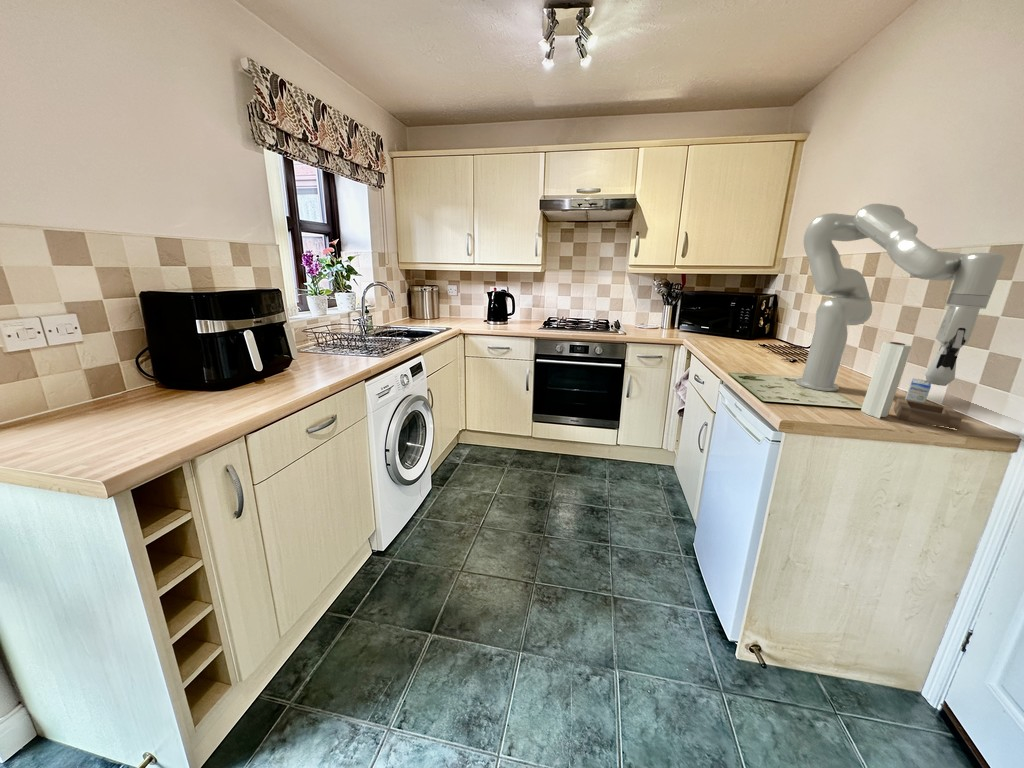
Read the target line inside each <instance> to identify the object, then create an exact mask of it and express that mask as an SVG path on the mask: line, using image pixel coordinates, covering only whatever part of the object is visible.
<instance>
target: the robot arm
mask: <svg viewBox="0 0 1024 768" xmlns="http://www.w3.org/2000/svg"><path fill="white" fill-rule="evenodd" d="M918 230H919V229H918V225H916V224H914V223H913V222H911V221H909V220H908V219H907V218H906V216H905V212H904V211H903V209H902V208H900V207H899V206H897V205H896V206H895V205H891V204H886V203H885V204H883V203H869V204H867V205H865V206H862V207H861V208H860V209H859V210H857V212H856V213H855V214H854V215H853V214H846V213H845V214H843V213H836V212H834V213H833V212H832V213H829V212H828V213H823V214H821V215H818V216H817V217H815V218H814V219H813V220H812V221H811V222H810V223H809V224H808V225H807V227H806V230H805V232H804V235H803V247H804V252H805V254H806V257H807V259H808V260H807V261H808V263H809V269H810V273H811V277H812V280H813V285H814V289H815V291H816V292H817V293H818V294H819V295H822V296H825V297H826V296H828V297H829V296H830V297H831V298H827V299H825V300H824V301H822V302H821V303H820V304H819V305H818V307H817V309H816V312H815V323H814V324H815V326H814V331H813V335H812V340H811V344H810V346H809V347H810V348H809V351H808V354H807V357H806V361H805V366H804V369H803V372H802V376H801V377H799V378H797V379H795V383H796V384H797V385H799V386H801V387H803V388H807V389H812V390H817V391H824V392H836V391H838V390H839V387H840V386H838V385H837V384H835V381H836V379H837V375H838V373H839V372H838V371H839V368H840V365H841V362H842V359H843V355H844V352H845V348H846V345H847V341H848V326H860V325H863V324H865V323H866V322H867V321H868V320H870V317H871V316H872V313H873V305H872V300H871V296H870V293H869V289H868V285H867V282H866V279H865V277H864V275H863V274H862V273H861V272H860V271H859V270H857V269H854V268H847V267H844V266H843V264H842V260H841V257H840V253H839V251H838V250H837V247H835V245H834V244H833V241H836V242H853V241H859V240H864V239H865V240H866V239H869V240H871V241H873V242H875V243H876V244H877V245H878V246H880V247H882V248H883V249H884V250H886V253H887V255H888V256H889V258H890V260H891V261H892V262H894V264H896V266H898V267H899V268H901V269H903V270H904V271H905V272H906V273H908V274H909V275H911V276H912V277H914V278H917V279H920V280H925V281H926V280H927V281H928V280H929V281H943V282H944V281H947V282H948V281H953V283H952V286H951V288H950V291H949V294H948V297H947V299H946V303H945V306H946V307H948V308H947V310H946V312H945V314H944V316H943V319H942V321H941V323H940V327H939V329H938V331H937V333H936V336H935V340H936V341H938V342H939V343H940V342H941V343H945V341H946V345H945V348H944V351H943V354H941V355H940V357H939V360H938V363H937V366H936V368H937V369H938V368H939V367H940V366H943V367H950V369H951V370H953V367H954V365H955V362H956V363H957V358H958V356H959V352H960V350H961V348H962V347H961V345H963V346H965V345H967V344H968V343H969V341H970V339H971V337H972V333H973V331H974V327H975V326H976V322H977V319H978V317H979V314H980V310H983V309H986V308H987V306H988V305H989V301H990V299H991V296H992V295H993V291H994V289H995V286H996V283H997V281H998V278H999V275H1000V273H1001V270H1002V268H1003V265H1004V263H1005V255H1003V254H1002V253H997V252H970V253H959V252H949V251H942V250H941V251H939V250H936V249H934V248H932V247H931V246H929V245H927V244H926V243H924V242H923V241H922V240H920V239H919V238H918V237H917V236H916V235H917V234H918ZM950 341H953V342H954V343H953V344H949V342H950ZM962 343H963V344H962ZM949 346H950V347H949ZM960 347H961V348H960ZM941 348H942V346H941V345H940V347H939V349H938V352H939V351H940V349H941Z"/></svg>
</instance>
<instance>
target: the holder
mask: <svg viewBox="0 0 1024 768" xmlns="http://www.w3.org/2000/svg"><path fill="white" fill-rule="evenodd" d="M893 411H894V412H895V413H894V414H895V415H896V417H897V419H898V420H899V421H900V420H901V421H904V422H905V421H906V422H910V421H912V422H911V423H915V422H916V423H917V424H920V423H923V424H922V425H925V424H929V425H928V426H930V425H936V426H944V427H949V428H955V429H958V430H959V427H960V425H961V423H962V420H963V418H962V417H961V416H960V415H959V414H958V413H957V412H956V410H955V409H954V408H953V407H950V406H945V405H940V404H931V403H929V402H925V403H923V402H917V401H911V400H906V399H905V398H904V399H903V398H900V397H897V398H896V400H895V403H894V406H893Z"/></svg>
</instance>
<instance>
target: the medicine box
mask: <svg viewBox="0 0 1024 768" xmlns="http://www.w3.org/2000/svg"><path fill="white" fill-rule="evenodd" d="M909 384H910V385H909V387H908V390H907V393H906V395H905V398H904V399H906V400H911V401H917V402H923V403H926V401H927V397H928V396H929V393H930V391H931V387H932V386H931V385H932V384H930V383H928V382H927V381H926V379H919V378H912V380H911V382H910V383H909Z"/></svg>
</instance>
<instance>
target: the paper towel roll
mask: <svg viewBox="0 0 1024 768" xmlns="http://www.w3.org/2000/svg"><path fill="white" fill-rule="evenodd" d="M911 350H912V345H911V344H908V343H903V342H895V341H883V342H882V345H881V348H880V350H879V353H878V356H877V360H876V363H875V366H874V369H873V372H872V376H871V378H870V381H869V385H868V388H867V390H866V394H865V396H864V399H863V403H862V406H861V409H860V410H861V411H860V412H861V413H863V414H866V415H868V416H871V417H875V418H876V419H879V420H880V419H881V418H886V417H888V415H889V412H890V410H891V406H892V405H893V401H894V399H895V396H896V393H897V390H898V386H899V384H900V381H901V379H902V375H903V372H904V370H905V367H906V364H907V362H908V361H907V360H908V358H909V355H910V351H911Z"/></svg>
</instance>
